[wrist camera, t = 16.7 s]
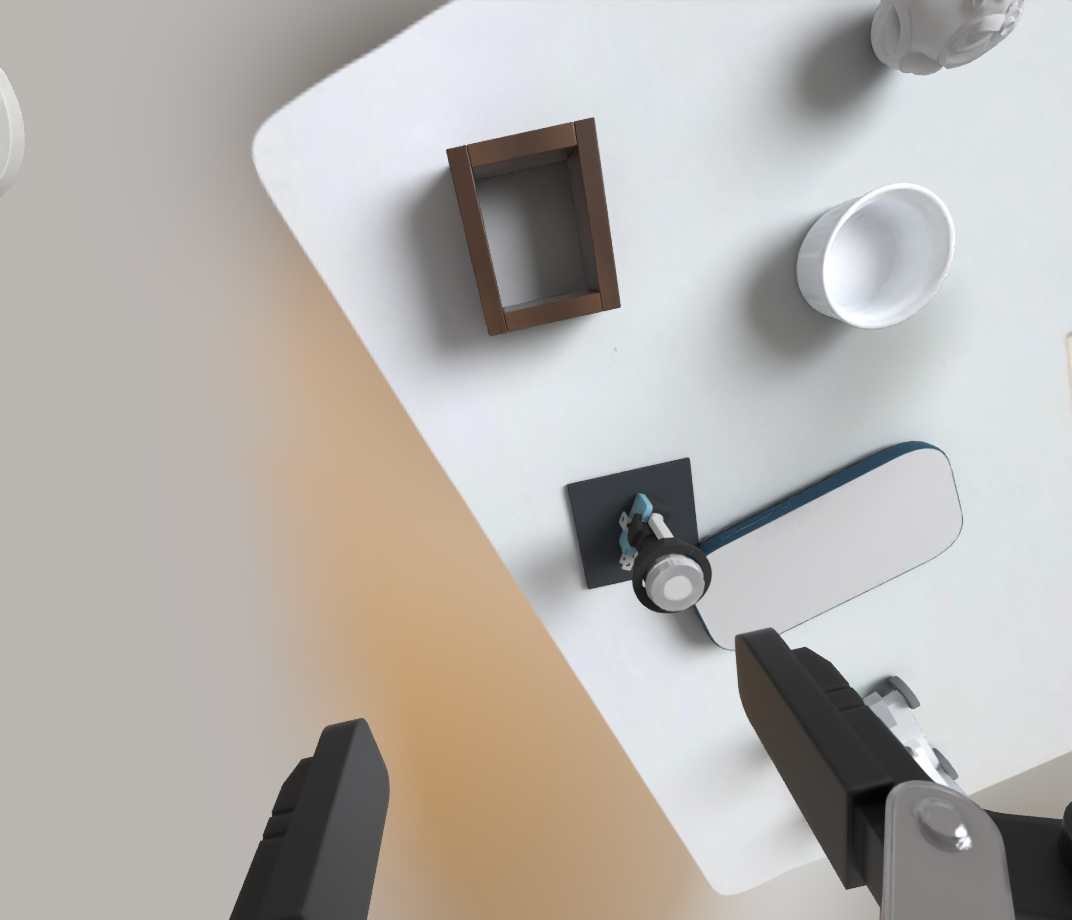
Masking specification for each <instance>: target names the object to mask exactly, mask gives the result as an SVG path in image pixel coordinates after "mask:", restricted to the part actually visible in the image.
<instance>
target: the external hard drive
mask: <svg viewBox="0 0 1072 920" xmlns="http://www.w3.org/2000/svg"><path fill="white" fill-rule="evenodd" d="M962 525H963V516H962V510H961V505H960V501H959V497H958V493H957V489H956V485H955V480H954V476H953V472H952V469H951V465H950V462H949V459H948V458H947V456H946V455H945V453H944V452H943V451H941V450H940V449H939V448H937V447H936V446H933V445H931V444H928V443H925V442H920V441H910V442H904V443H901V444H898V445H895V446H892V447H890V448H887V449H885V450H883V451H881V452H879V453H877V454H875V455H873V456H871V457H869V458H867V459H865V460H863V461H861V462H859V463H858V464H856V465H854V466H852V467H850V468H848V469H846V470H844V471H842V472H840V473H838V474H836V475H834V476H832V477H830V478H828V479H826V480H824V481H822V482H820V483H818V484H817V485H815V486H813V487H811V488H809V489H807V490H805V491H803V492H801V493H799V494H797V495H795V496H793V497H791V498H789V499H787V500H785V501H783V502H781V503H779V504H778V505H776V506H774V507H772V508H770V509H768V510H766V511H764V512H762V513H760V514H758V515H756V516H754V517H752V518H750V519H748V520H746V521H744V522H742V523H740V524H738V525H737V526H735V527H733V528H731V529H729V530H727V531H725V532H723V533H721V534H719V535H717V536H715V537H713V538H711V539H710V540H708V541H706V542H704V543H703V544H701V545H700V546H699V547H697V548H698V549H700V550H701V551H702V552H703V553H704V555H705V556H706V557H707V559H708V560H709V562H710V565H711V569H712V579H711V583H710V586H709V588H708V590H707V592H706V593H705V595H704V596H703V597H702V598H701V599H700V600H699V601H698V602H697V603H696V604H694V605H693V608H694V610H695V612H696V614H697V616H698V618H699V620H700V622H701V624H702V626H703V628H704V630H705V631H706V633H707V634H708V636H709V637H710V639H711V640H712V641H713V642H714V643H715V644H716V645H717V646H719V647H721V648H723V649H726V650H735V636H736V635H738V634H742V633H747V632H751V631H755V630H760V629H764V628H769V627H771V628H773V629H774V630H776V632H777V633H778V634H782V633H784V632H786V631H788V630H790V629H792V628H794V627H796V626H798V625H800V624H802V623H804V622H806V621H808V620H810V619H812V618H814V617H816V616H818V615H820V614H822V613H824V612H826V611H828V610H830V609H832V608H834V607H836V606H839V605H841V604H843V603H845V602H847V601H849V600H851V599H853V598H855V597H857V596H859V595H861V594H863V593H865V592H867V591H869V590H871V589H873V588H875V587H877V586H879V585H881V584H883V583H885V582H887V581H889V580H891V579H893V578H896V577H898V576H900V575H902V574H904V573H906V572H908V571H910V570H912V569H914V568H916V567H918V566H920V565H922V564H924V563H926V562H928V561H930V560H932V559H933V558H935V557H937V556H938V555H940V554H941V553H943V552H944V551H945V550H947V549H948V548H949V547H950V546H951V545H952V544H953V543H954V542H955V540H956V539H957V537H958V536H959V534H960V532H961V529H962ZM689 557H690V558H691V559H692V560H693V561H695V558H694V557H693V556H691V555H689Z"/></svg>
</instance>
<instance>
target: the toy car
mask: <svg viewBox="0 0 1072 920" xmlns="http://www.w3.org/2000/svg"><path fill="white" fill-rule="evenodd" d="M889 683H890V685H891V686H892V688H893V689H894V691H893V692H892V693H890V694H888V695H886V696H884V697H881V696H880V695H879V694H878V693H877V692H874V693H872V694H870V695H868V696H867V697H865V698H863V700H864V704H865V705H868V706H869V707H870V709H871V710H872V711H873V712H874V713H875V714H876V716H877V717H878V718H879V719H880V720H881V721H882V723H883V724H884V725H885V726H886V727H887V728H888V729H889V731H890V732H891V733H892V734H893V735H894V736H895V738H896V739H897V740H898V741H899V742H900V743H901V745H902V746H903V747H904V748H905V749H906V750H907V752H908V753H909V754H910V755H911V756H912V757H913V758H914V760H915V761H916V762H917V763H918V764H919V765H920V767H921V768H922V769H923V770H924V771H925V772H926V773H927V774H928V776H929V777H930V778H931V779H932V780H933V781H935V782H936V783H939V784H942V785H944V786H947V787H950V788H952V789H954V790H956V791H958V792H960V793H962V794H963V795H965V796H967V795H966V794H965V792H964V791H963V790H962V789H961V788H960V787H959V786H958V785H957V784H956V782H955V781H954V780H955V779H957V778H958V774H957V773H956V771H955V770H954V768H953V767H952V765H951V764H950V763H949V762H948V760H947V759H946V758H945V757H944V756H943V755H942V754H941V753H940V752H939V751H938V750H937V749H935V748H933V749H932V748H931V746H930V745H929V743H928V741H927V739H926V737H925V735H924V733H923V732H922V730H921V728H920V726H919V724H918V722H917V721H916V719H915V717H914V715H913V713H912V711H911V709H915V708H916V707H918V706H920V703H919V701H918V699H917V697H916V696H915V695H914V693H913V692H912V691H911V689H910V688H909V687H908V686H907V685H906V684H905V683H904V682H903V681H902V680H901V679H900V678H899V677H897V676H894V677H893V678H891V679H889ZM910 708H911V709H910ZM967 797H968V796H967ZM968 798H969V797H968Z"/></svg>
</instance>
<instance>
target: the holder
mask: <svg viewBox="0 0 1072 920" xmlns="http://www.w3.org/2000/svg"><path fill="white" fill-rule="evenodd" d="M446 153H447V157H448V161H449V166H450V170H451V174H452V179H453V183H454V187H455V191H456V196H457V200H458V204H459V209H460V213H461V217H462V222H463V226H464V230H465V234H466V239H467V243H468V247H469V252H470V256H471V260H472V265H473V269H474V273H475V278H476V282H477V286H478V290H479V295H480V299H481V303H482V308H483V312H484V316H485V321H486V325H487V329H488V333H489V336H493V335H498V334H502V333H506V332H507V331H508V332H511V331H516V330H520V329H525V328H529V327H534V326H539V325H543V324H548V323H552V322H557V321H561V320H566V319H570V318H575V317H579V316H584V315H589V314H593V313H598V312H601V311H607V310H612V309H616V308H620V307H621V304H620V297H619V290H618V283H617V276H616V268H615V261H614V254H613V247H612V240H611V233H610V226H609V219H608V211H607V204H606V197H605V190H604V183H603V176H602V169H601V162H600V154H599V147H598V140H597V133H596V126H595V119H594V117H593V118H588V119H583V120H579V121H575V122H574V123H573V122H570V123H565V124H561V125H556V126H551V127H547V128H542V129H538V130H533V131H528V132H524V133H519V134H515V135H510V136H505V137H501V138H496V139H492V140H487V141H482V142H478V143H473V144H468V145H467V146H466V145H464V146H459V147H455V148H450V149H447V150H446ZM566 159H567V165H568V171H569V177H570V184H571V190H572V196H573V202H574V209H575V215H576V221H577V227H578V233H579V240H580V246H581V252H582V258H583V265H584V271H585V277H586V283H587V289H588V290H582V291H577V292H572V293H568V294H563V295H559V296H554V297H550V298H545V299H541V300H536V301H531V302H527V303H522V304H518V305H513V306H509V307H504V308H502V305H501V300H500V295H499V291H498V286H497V282H496V277H495V273H494V268H493V264H492V259H491V254H490V250H489V245H488V241H487V236H486V232H485V227H484V222H483V218H482V213H481V209H480V204H479V200H478V195H477V191H476V186H475V181H474V180H476V179H480V178H485V177H489V176H494V175H499V174H503V173H508V172H512V171H517V170H522V169H526V168H531V167H535V166H540V165H545V164H549V163H554V162H558V161H563V160H566Z"/></svg>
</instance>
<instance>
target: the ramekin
mask: <svg viewBox="0 0 1072 920" xmlns="http://www.w3.org/2000/svg"><path fill="white" fill-rule="evenodd" d="M954 235H955V234H954V227H953V223H952V219H951V216H950V214H949V212H948V210H947V208H946V206H945V205H944V203H943V202H942V201H941V200H940V199H939V198H938V197H937V196H936V195H935V194H934V193H933V192H931V191H930V190H928V189H926V188H924V187H921V186H918V185H915V184H909V183H897V184H890V185H886V186H883V187H880V188H877V189H875V190H872V191H870V192H868V193H866V194H865V195H863V196H860V197H857V198H854V199H850V200H848V201H845V202H843V203H841V204H838V205H836V206H835V207H833V208H832V209H830V210H828V211H827V212H826V213H825V214H824V215H822V216H821V217H820V218H819V219H818V221H817V222H816V223H815V224H814V225H813V226H812V228H811V229H810V230H809V232H808V234H807V235H806V237H805V239H804V241H803V243H802V245H801V248H800V251H799V254H798V259H797V268H796V270H797V280H798V285H799V288H800V291H801V293H802V294H803V296H804V298H805V299H806V301H807V302H808V303H809V304H810V305H811V306H812V307H813V308H814V309H815V310H817V311H818V312H820V313H822V314H825V315H827V316H829V317H832V318H835V319H839V320H840V321H842V322H844V323H845V324H848V325H850V326H853V327H856V328H860V329H882V328H886V327H890V326H894V325H896V324H898V323H900V322H903V321H905V320H906V319H908V318H910V317H911V316H913V315H914V314H916V313H917V312H918V311H919V310H921V309H922V308H923V307H924V306H925V305H926V304H927V303H928V302H929V301H930V300H931V299H932V297H933V296H934V295H935V294H936V292H937V291H938V290H939V288H940V286H941V285H942V283H943V281H944V279H945V277H946V275H947V273H948V271H949V268H950V265H951V261H952V258H953V253H954V243H955V236H954Z"/></svg>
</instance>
